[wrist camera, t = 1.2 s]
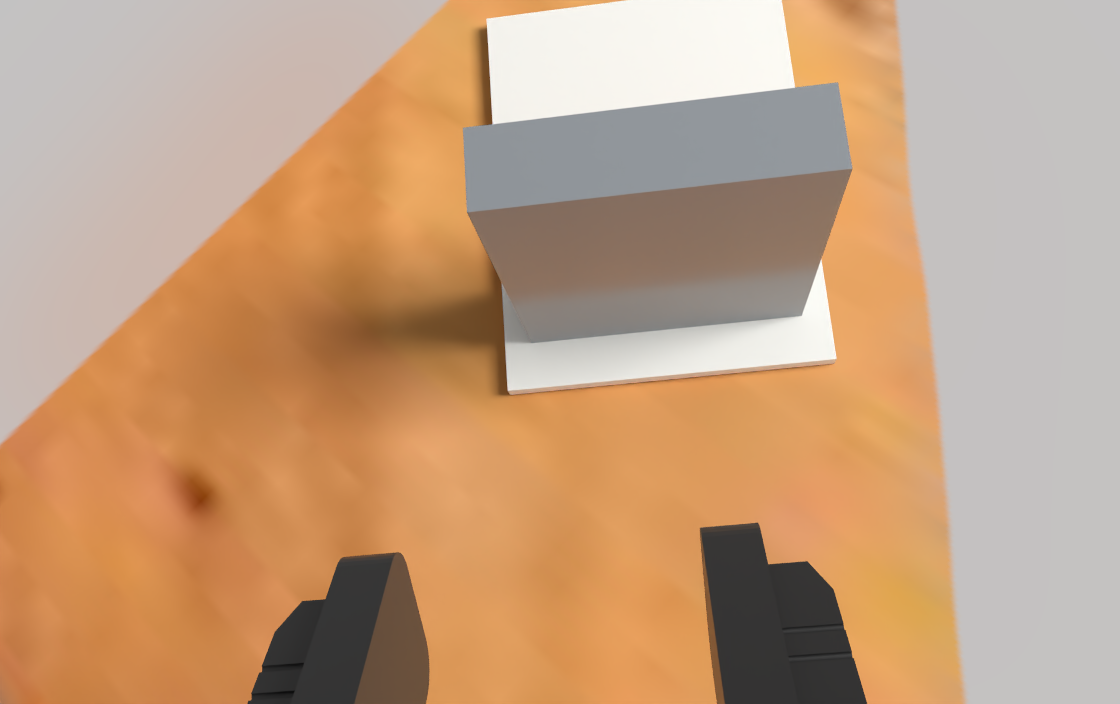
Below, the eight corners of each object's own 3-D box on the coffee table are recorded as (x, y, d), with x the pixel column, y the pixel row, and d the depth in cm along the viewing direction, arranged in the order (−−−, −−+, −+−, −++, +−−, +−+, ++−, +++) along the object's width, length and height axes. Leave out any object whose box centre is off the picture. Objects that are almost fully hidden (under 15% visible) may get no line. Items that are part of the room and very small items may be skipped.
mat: (510, 394, 39) (507, 391, 38) (489, 27, 43) (486, 18, 43) (834, 363, 38) (836, 358, 37) (777, -11, 42) (778, -20, 42)
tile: (531, 343, 39) (467, 212, 27) (527, 277, 39) (462, 123, 28) (801, 315, 38) (852, 168, 26) (791, 248, 39) (836, 77, 27)
